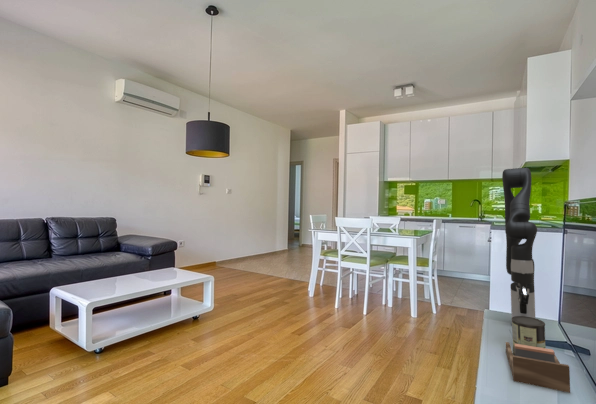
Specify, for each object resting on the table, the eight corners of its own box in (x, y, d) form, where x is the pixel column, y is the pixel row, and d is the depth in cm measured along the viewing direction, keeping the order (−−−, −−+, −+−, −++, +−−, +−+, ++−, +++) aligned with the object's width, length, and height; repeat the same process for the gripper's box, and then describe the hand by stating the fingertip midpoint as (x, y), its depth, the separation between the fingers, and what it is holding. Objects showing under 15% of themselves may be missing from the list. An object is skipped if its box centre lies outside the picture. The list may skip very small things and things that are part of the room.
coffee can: (536, 352, 121) (535, 316, 122) (552, 365, 111) (551, 326, 112) (507, 350, 123) (506, 315, 124) (520, 363, 113) (519, 324, 114)
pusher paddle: (514, 365, 112) (514, 343, 112) (553, 372, 107) (552, 349, 107) (515, 368, 110) (515, 346, 110) (555, 375, 104) (554, 352, 105)
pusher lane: (505, 352, 122) (505, 331, 122) (552, 359, 115) (551, 338, 115) (513, 381, 102) (513, 356, 102) (570, 392, 95) (569, 366, 95)
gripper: (509, 267, 134) (510, 307, 134) (513, 272, 123) (514, 316, 122) (530, 268, 131) (531, 309, 130) (536, 274, 119) (538, 319, 119)
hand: (523, 313), depth 126 cm, fingers closed
